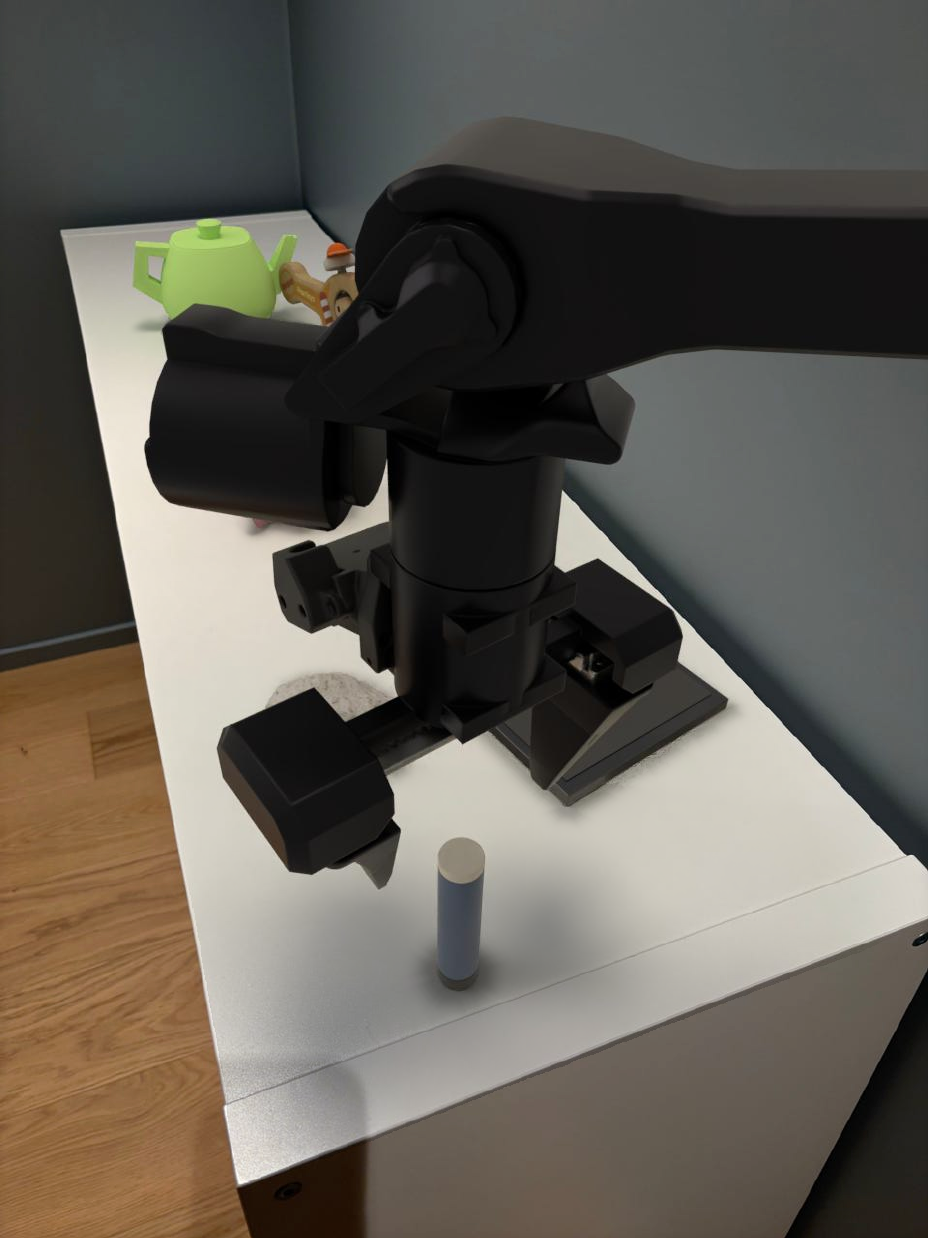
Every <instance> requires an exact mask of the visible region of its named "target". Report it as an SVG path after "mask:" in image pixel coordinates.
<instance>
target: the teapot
mask: <svg viewBox="0 0 928 1238" xmlns="http://www.w3.org/2000/svg"><path fill="white" fill-rule="evenodd" d="M195 226H196V227H191V228H184V229H181V230H177V231H175V232H173V233H172V235H171V236H170V239H169V241H168V242H156V241H140V240H139V241H137V240H136V241H135V244H134V245H135V247H134V262H133V274H132V275H133V278H132V288H134V289H136V290H138V291H139V292H141V293H143V294H144V295H145V296H147V297H149V298H151V299H152V300H154V301H156V302H157V303H159V304H160V305H162V308H163V309H164V311H165V312H166V314H167V315H168V317H169V318H170V319H171V320H172V319H173V318H175V317H176V316H178V315H179V314H180V313H182V312H183V311H184V310H186V309H187V308H189V307H190V306H191V305H193V304H194V303H197V304H205V305H213V306H220V307H225V308H229V309H232V310H234V311H237V312H240V313H242V314H245V315H248V316H253V317H259V318H267V319H270V317H271V315H272V314H273V312H274V310H275V308H276V304H277V296H278V295H281V294H282V291H281V288H280V283H279V270H280V267H281V265H282V264H284V263H287V262H292V258H293V255H294V252H295V249H296V246H297V244H298V243H297V242H298V237H297V235H296V234H282V236H281V239H280V241H279V243H278V244H277V246H276V248H275V251H274V252H273V254H272V256H271V258H270V259H269V261H268V262H267V261H266V258H265V257H264V255H263V253H262V251H261V250H260V248H259V246H258V244H257V243H256V241H255V240H254V238H253V236H252V235H251V234H250V232H249V231H248V230H246V229H245V228H243V227H240V226H233V225H232V226H231V225H222V221H221V220H219V219H216V218H202V219H200V220H198V221H196V222H195ZM149 257H156V258H160V259H163V262H162V267H161V273H160V279H158V278H156V277H154V276H152V275H150V274H149Z"/></svg>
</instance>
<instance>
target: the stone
mask: <svg viewBox="0 0 928 1238" xmlns="http://www.w3.org/2000/svg"><path fill="white" fill-rule="evenodd" d="M313 687H315V688H316V689H317V691H318V692H319V693H320V694H321V695H322V696H323V697H324V698H325V700H326V701H327V702H328V703H329V704H330V705H331V706H332V707H333V709H334V710H335V711H336V712H337V713H338V714H339V715H340V716H341V718H342V719H343V720H344V721H345V722H346V721H348V720H350V719H352V718H354V717H356V716H359V715H361V714H363V713H365V712H367V711H369V710H371V709H373V708H375V707H377V706H379V705H381V704H383V703H385V702H387V701H389V700H392V699H394V698H395V697H394V696H393V695H388V694H387V693H384V692H382V691H380V690H378V689H377V688H376V687H374V686H372V685H371V684H369V683H367V682H366V681H364V680H363V681H362V680H359V679H357V678H355V677H354V676H352V675H349V674H348V673H343V672H342V671H339V672H320V673H314V674H310V675H306V676H303V677H298V678H295V679H293V680H291V681H288V682H287V683H284V684H280V685H278V686H276V688H275V690H274V692H272V695H271V696H270V697H269V699H268V700H267V702H266V704H265V706H264V709H266V708H268V707H270V706H273V705H275V704H277V703H279V702H281V701H284V700H286V699H288V698H290V697H292V696H295V695H297V694H299V693H301V692H303V691H306V690H308V689H311V688H313Z"/></svg>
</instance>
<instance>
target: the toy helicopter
mask: <svg viewBox="0 0 928 1238" xmlns="http://www.w3.org/2000/svg"><path fill="white" fill-rule="evenodd" d="M353 251H354V248H347V246H346V245H344V244H343V243H342V242H335V243H332V244H330V245H329V246H328V247H327V250H326V257H325V259H324V260H323V267H324V271H325V272H335V271H337V273H334V274H331V276H329V277H328V278H327V279H325V281H322V280H319V279H318V278H315V277H313V276H311V275H310V274H309V273H308V271H307V269H306V267H305V265H304V264H302V263H301V262H299V261H291V262H287V263H284V264H282V265H281V267H280V270H279V283H280V288H281V294H282V296H283V298H284V299H285V300H286V301H287V303H289V304H291V305H297V304H302V305H304V306H306V307H307V308H309V309H310V310H312V311H313V312H314V313H316V314H317V315H318V317H319V319H320V322H321V326H328V327H329V326H330V325H331V324H332V323H333V322H334V321H335V320H336V319H337V318H338V317H339V316H340V315H341V314H342V313H343V312H344V311H345V310H346V309H347V308H348V307H349V306H350V305H351V304H352V302H353V301H354V300H355V298H356V297H357V295H358V291H357V287H356V283H355V271H349V272H348V271H347V269H348V268H351V267H355V254H354V253H352V252H353Z"/></svg>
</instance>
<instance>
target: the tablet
mask: <svg viewBox="0 0 928 1238" xmlns="http://www.w3.org/2000/svg"><path fill="white" fill-rule="evenodd" d="M728 703H729V697H727V696H726V695H724V694H723V693H721V692H720V691H719V690H717V689H716V687H715V688H714V687H713V686H712V685H711V684H709V683H708V682H707V681H705V680H704V679H703V678H701V677H700V676H698V675H697V674H696V673H695V672H693V671H692V670H690V669H689V668H688V667H686V666H685V665H683V664H682V663H681V662H679V661H678V662H677V666H676V670H674V671H672V672H671V673H669V674H667V675H665V676H664V677H662V678H660V679H658V680H656V681H655V682H654V685H653V688H652V690H651V691H650V692H649V693H648V694H647V695H645V696H643V697H642V698H641V699H639V700H638V701H637V702H636V703H635V704H634V705H633V706H632V707H631V708H630V709H629V710H628V711H627V712H626V713H624V714H623V715H622V716H621V717H620V718H619V719H618V720H617V721H616V722H615V723H614V724H613V725H612V726H611V727H610V728H609V729H608V730H607V731H606V732H605V733H604V734H603V735H602V736H601V737H600V738H599V739H598V740H597V741H596V742H595V743H594V744H593V745H592V746H591V747H589V749H588V750H587V751H586V752H585V753H584V754H583V755H582V756H581V757H580V758H579V759H578V760H577V761H576V762H575V763H574V764H573V765H572V766H571V767H570V768H569V769H568V770H567V771H566V772H565V773H564V774H563V775H562V777H561V778H560V779H559V780H558V781H557V782H556V783H555V784H554V785H553V786H552V787H550V788H549V789H548V790H550V792H552V794H554V795H555V796H556V797H557V798H558V799H559V800H560V801H561V802H562V803H563V804H564V805H565V806H566V807H569V806H571V805H572V804H573V803H575V802H577V801H579V800H580V799H581V798H583V797H585V796H586V795H588V794H590V793H592V792H593V791H595V790H596V789H598V788H600V787H601V786H603V785H604V784H606V783H608V782H609V781H612V780H613V779H614V778H616V777H617V776H619V775H621V774H622V773H624V772H626V771H627V770H629V769H631V768H632V767H633V766H635V765H636V764H638V763H640V762H641V761H644V760H645V759H646V758H648V757H650V756H652V755H654V753H656V752H657V751H658V752H659V751H660V750H661V749H663V748H664V747H666V746H668V745H669V744H671V743H672V742H674V741H676V740H678V739H679V738H680V737H682V736H684V735H685V734H687V733H689V732H691V731H692V730H694V729H695V728H697V727H699V726H700V725H702V724H703V723H705V722H706V721H708V720H709V719H711V718H713V717H715V716H716V715H718V714H720V713H721V712H723V711H725V710H726V709H727V706H728ZM531 716H532V708H530V709H528V710H526V711H524V712H522V713H521V714H519V715H517V716H515V717H513V718H511V719H509V720H507V721H506V722H504V723H502V724H500V725H498V726H496V727H494V728H493V729H491V730H489V731H488V732H489V733H490V734H492V736H493V737H494V738H495V739H496V740H498V742H500V743H501V745H503V746H504V747H505V748H506V749H507V751H509V752H510V753H511V754H512V755H513V756H514V757H515V758H516V759H517V760H518V761H520V762H521V764H522V765H524V767H525V768H527V769H528V770H529V771H530V759H529V747H530V732H531Z"/></svg>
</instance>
